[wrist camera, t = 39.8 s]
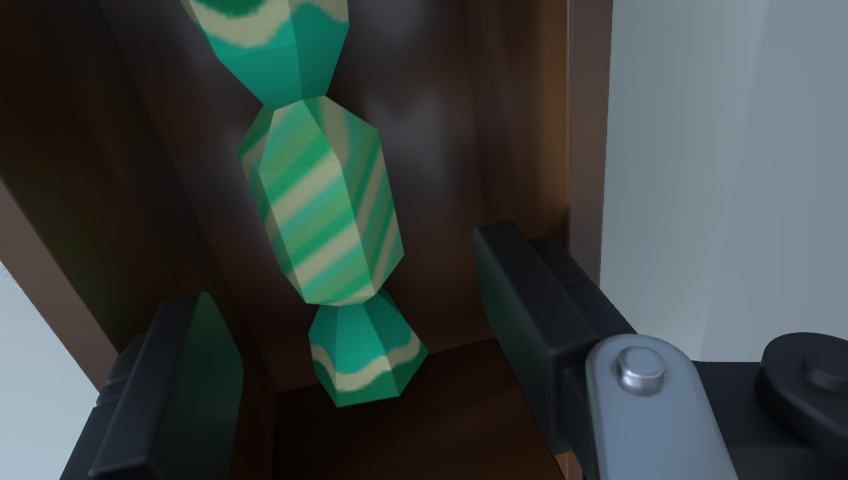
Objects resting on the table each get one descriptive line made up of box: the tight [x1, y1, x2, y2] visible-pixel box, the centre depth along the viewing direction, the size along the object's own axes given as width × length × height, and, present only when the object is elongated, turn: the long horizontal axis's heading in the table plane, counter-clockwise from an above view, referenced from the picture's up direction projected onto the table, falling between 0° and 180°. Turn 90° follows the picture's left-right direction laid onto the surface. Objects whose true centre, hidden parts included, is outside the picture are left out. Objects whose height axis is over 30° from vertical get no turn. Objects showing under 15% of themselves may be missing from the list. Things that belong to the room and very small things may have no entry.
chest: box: [0, 0, 613, 480], centre depth 13 cm, size 18×11×7 cm, turn 9°
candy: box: [179, 0, 429, 407], centre depth 13 cm, size 12×3×4 cm, turn 9°
